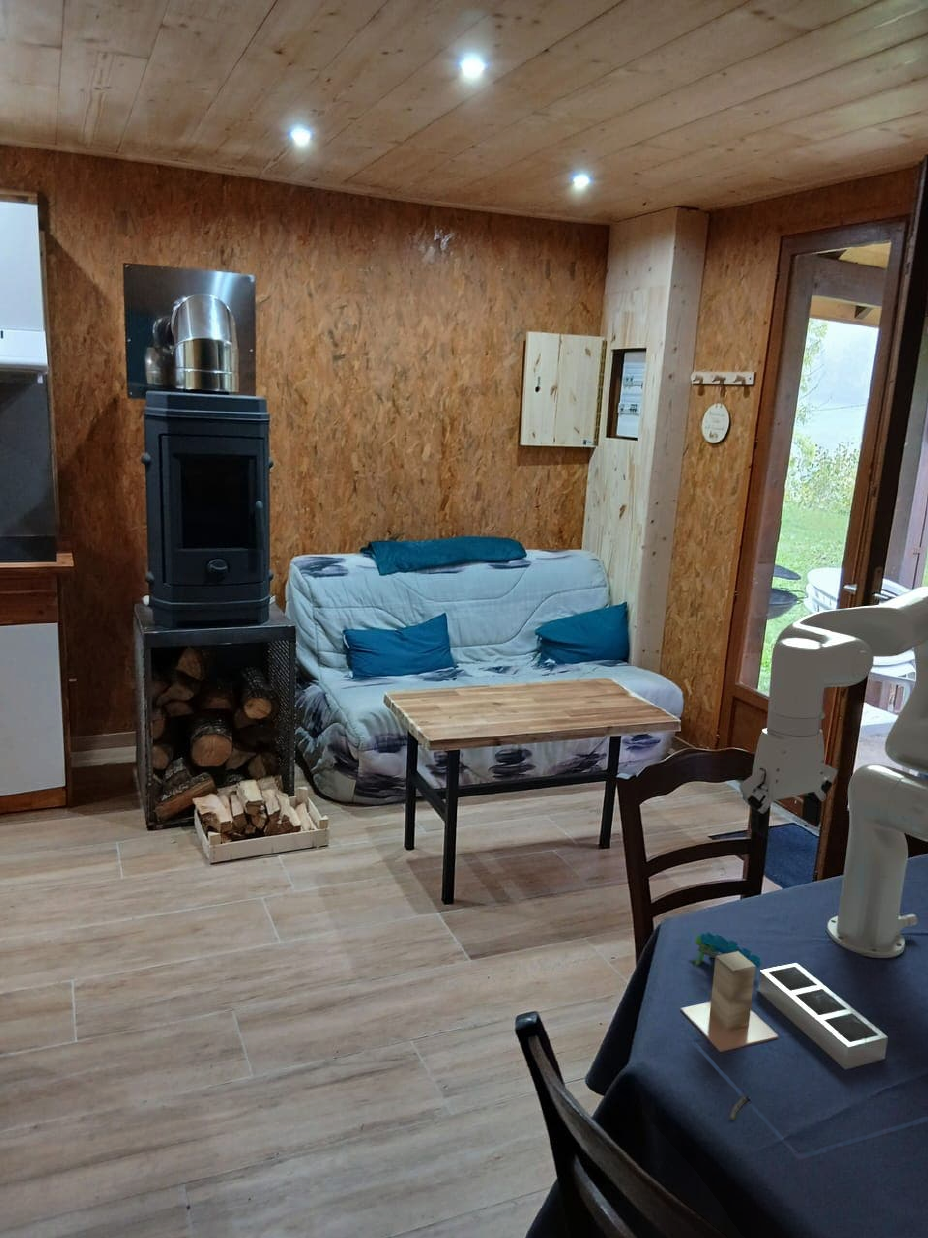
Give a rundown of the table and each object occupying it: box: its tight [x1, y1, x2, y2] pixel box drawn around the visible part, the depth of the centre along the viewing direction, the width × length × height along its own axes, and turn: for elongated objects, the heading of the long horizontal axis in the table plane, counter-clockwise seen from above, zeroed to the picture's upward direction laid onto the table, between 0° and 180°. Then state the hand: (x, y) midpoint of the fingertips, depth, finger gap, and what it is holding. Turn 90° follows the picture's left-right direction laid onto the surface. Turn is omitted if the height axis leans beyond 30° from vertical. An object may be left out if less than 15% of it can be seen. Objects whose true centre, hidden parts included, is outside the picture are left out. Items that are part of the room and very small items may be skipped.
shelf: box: [757, 962, 889, 1070], centre depth 139 cm, size 7×19×4 cm, turn 21°
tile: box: [680, 1001, 779, 1053], centre depth 139 cm, size 10×10×1 cm
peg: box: [710, 951, 757, 1033], centre depth 138 cm, size 4×4×10 cm
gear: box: [694, 932, 762, 969], centre depth 152 cm, size 11×6×10 cm
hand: (785, 827), depth 143 cm, fingers open, 9 cm apart
